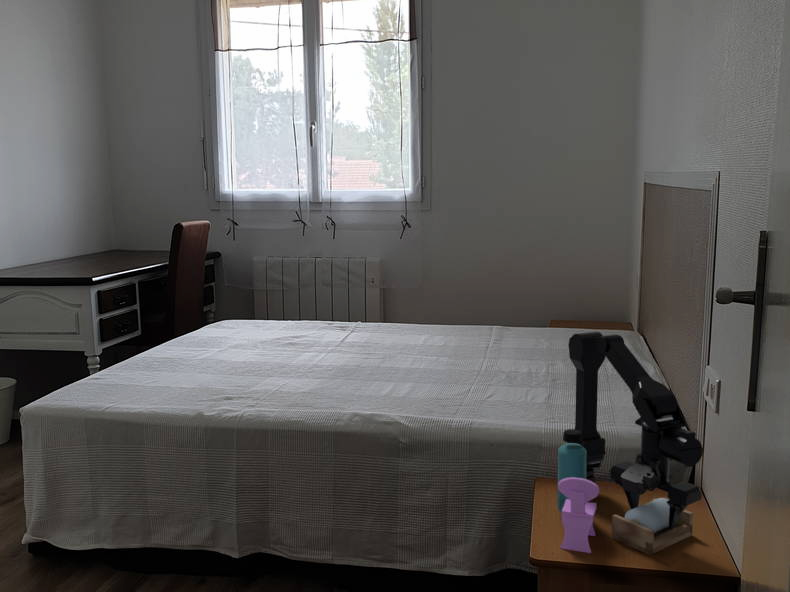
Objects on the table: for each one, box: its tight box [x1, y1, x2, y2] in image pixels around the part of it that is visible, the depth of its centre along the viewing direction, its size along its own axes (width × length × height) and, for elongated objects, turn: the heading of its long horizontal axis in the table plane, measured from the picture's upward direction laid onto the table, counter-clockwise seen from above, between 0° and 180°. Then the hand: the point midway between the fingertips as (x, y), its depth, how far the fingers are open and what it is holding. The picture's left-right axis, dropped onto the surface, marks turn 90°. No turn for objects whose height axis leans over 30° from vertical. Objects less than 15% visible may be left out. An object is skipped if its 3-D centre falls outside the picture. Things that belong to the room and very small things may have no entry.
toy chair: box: [557, 477, 600, 554], centre depth 158 cm, size 8×9×15 cm
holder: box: [611, 498, 694, 556], centre depth 160 cm, size 10×14×5 cm, turn 126°
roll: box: [624, 497, 670, 533], centre depth 160 cm, size 10×6×6 cm, turn 126°
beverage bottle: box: [557, 428, 587, 514], centre depth 169 cm, size 6×7×20 cm
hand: (652, 520), depth 160 cm, fingers open, 9 cm apart
